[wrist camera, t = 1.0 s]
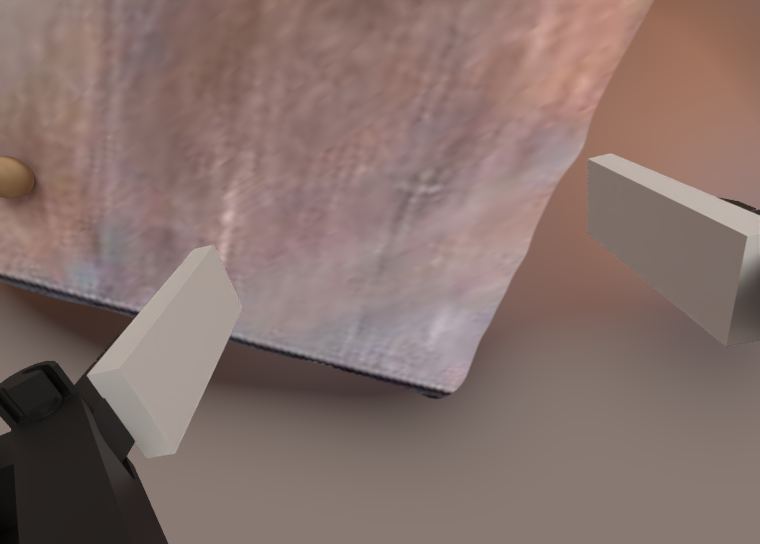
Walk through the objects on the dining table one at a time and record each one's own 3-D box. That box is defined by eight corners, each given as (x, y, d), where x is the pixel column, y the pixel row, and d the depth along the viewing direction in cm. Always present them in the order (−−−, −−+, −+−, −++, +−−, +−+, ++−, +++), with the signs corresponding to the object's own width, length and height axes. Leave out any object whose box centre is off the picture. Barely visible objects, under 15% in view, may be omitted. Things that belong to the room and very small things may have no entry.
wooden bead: (-8, 156, 37) (-42, 166, 34) (30, 149, 37) (0, 157, 34) (15, 195, 39) (-16, 207, 36) (51, 188, 39) (24, 199, 36)
